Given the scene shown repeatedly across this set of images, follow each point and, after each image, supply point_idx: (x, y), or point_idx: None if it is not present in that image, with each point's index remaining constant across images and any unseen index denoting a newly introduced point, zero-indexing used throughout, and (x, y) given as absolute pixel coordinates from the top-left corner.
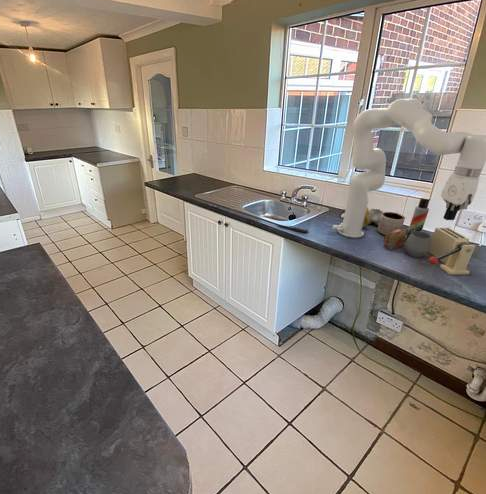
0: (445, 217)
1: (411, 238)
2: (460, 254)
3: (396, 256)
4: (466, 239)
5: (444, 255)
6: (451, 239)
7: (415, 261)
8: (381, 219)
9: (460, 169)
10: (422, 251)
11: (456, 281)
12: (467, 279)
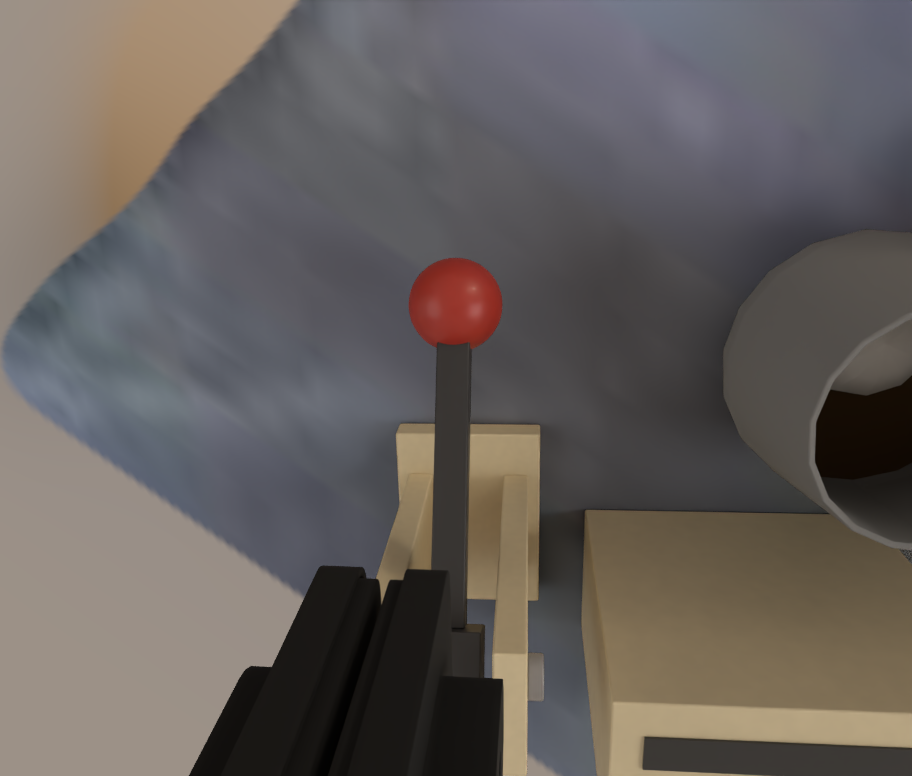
0: (382, 606)
1: None
2: (384, 572)
3: (809, 86)
4: None
5: (437, 425)
6: (668, 683)
7: (666, 249)
8: None
9: None
10: (726, 350)
11: (285, 402)
12: (324, 513)
